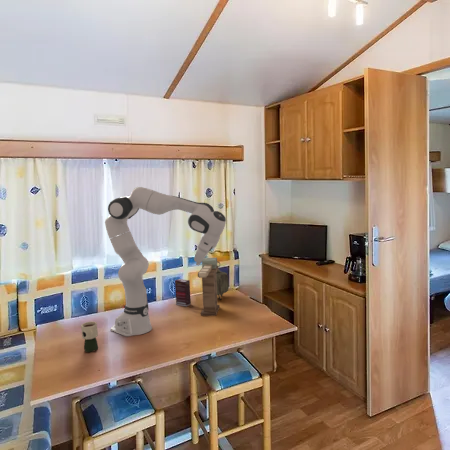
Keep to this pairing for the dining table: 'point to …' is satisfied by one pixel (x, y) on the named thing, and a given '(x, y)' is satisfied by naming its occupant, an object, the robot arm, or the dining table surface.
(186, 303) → the supplement box
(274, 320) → the dining table surface
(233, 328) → the dining table surface
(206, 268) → the mallet
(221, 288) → the tabletop clock
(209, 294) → the walnut shelf
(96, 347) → the character mug
